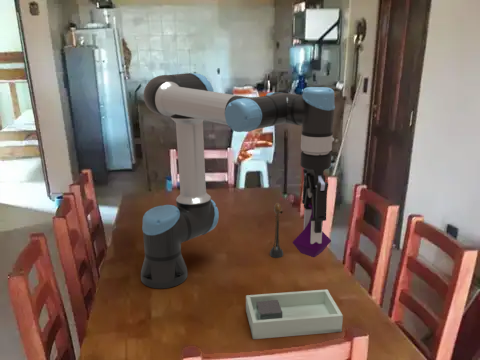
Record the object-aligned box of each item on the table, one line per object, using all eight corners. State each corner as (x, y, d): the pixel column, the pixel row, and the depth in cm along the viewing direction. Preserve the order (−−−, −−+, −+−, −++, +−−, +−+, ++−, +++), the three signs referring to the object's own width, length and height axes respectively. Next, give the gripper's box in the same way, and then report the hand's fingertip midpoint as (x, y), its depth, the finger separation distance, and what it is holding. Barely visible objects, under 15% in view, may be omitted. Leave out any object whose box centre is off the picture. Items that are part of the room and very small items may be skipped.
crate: (252, 339, 114) (253, 322, 113) (245, 310, 127) (245, 295, 125) (341, 331, 117) (342, 315, 116) (326, 304, 130) (327, 289, 128)
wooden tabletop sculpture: (285, 258, 157) (287, 206, 151) (273, 260, 156) (274, 207, 150) (280, 251, 163) (281, 200, 157) (268, 252, 162) (269, 201, 156)
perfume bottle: (306, 243, 121) (309, 181, 116) (330, 251, 117) (334, 187, 111) (291, 253, 116) (293, 188, 110) (316, 262, 111) (319, 194, 106)
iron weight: (260, 327, 118) (260, 314, 116) (256, 313, 123) (256, 301, 122) (282, 325, 118) (282, 312, 117) (277, 312, 124) (277, 299, 123)
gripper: (344, 160, 99) (338, 253, 106) (319, 142, 118) (315, 222, 124) (312, 161, 99) (307, 254, 105) (292, 143, 117) (289, 224, 124)
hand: (312, 237), depth 115 cm, fingers closed on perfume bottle, 6 cm apart
